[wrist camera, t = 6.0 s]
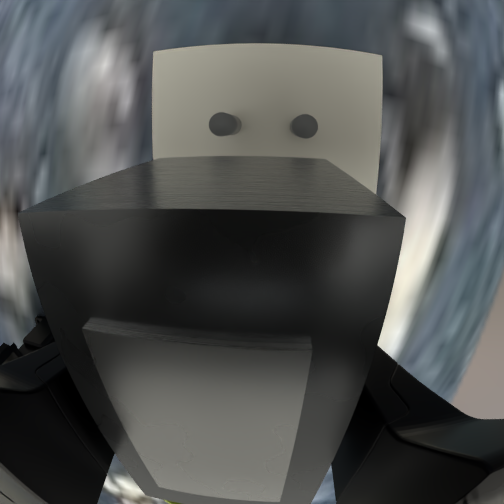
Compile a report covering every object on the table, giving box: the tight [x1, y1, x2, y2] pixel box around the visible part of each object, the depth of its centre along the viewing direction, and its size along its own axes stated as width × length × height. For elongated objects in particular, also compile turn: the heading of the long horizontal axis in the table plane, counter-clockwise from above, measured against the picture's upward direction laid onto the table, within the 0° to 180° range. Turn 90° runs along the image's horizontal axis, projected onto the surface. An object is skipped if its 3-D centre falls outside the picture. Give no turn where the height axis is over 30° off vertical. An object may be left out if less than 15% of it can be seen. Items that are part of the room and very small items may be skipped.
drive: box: [18, 156, 406, 504], centre depth 8 cm, size 9×5×6 cm, turn 0°
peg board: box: [152, 43, 383, 194], centre depth 18 cm, size 22×14×4 cm, turn 179°
